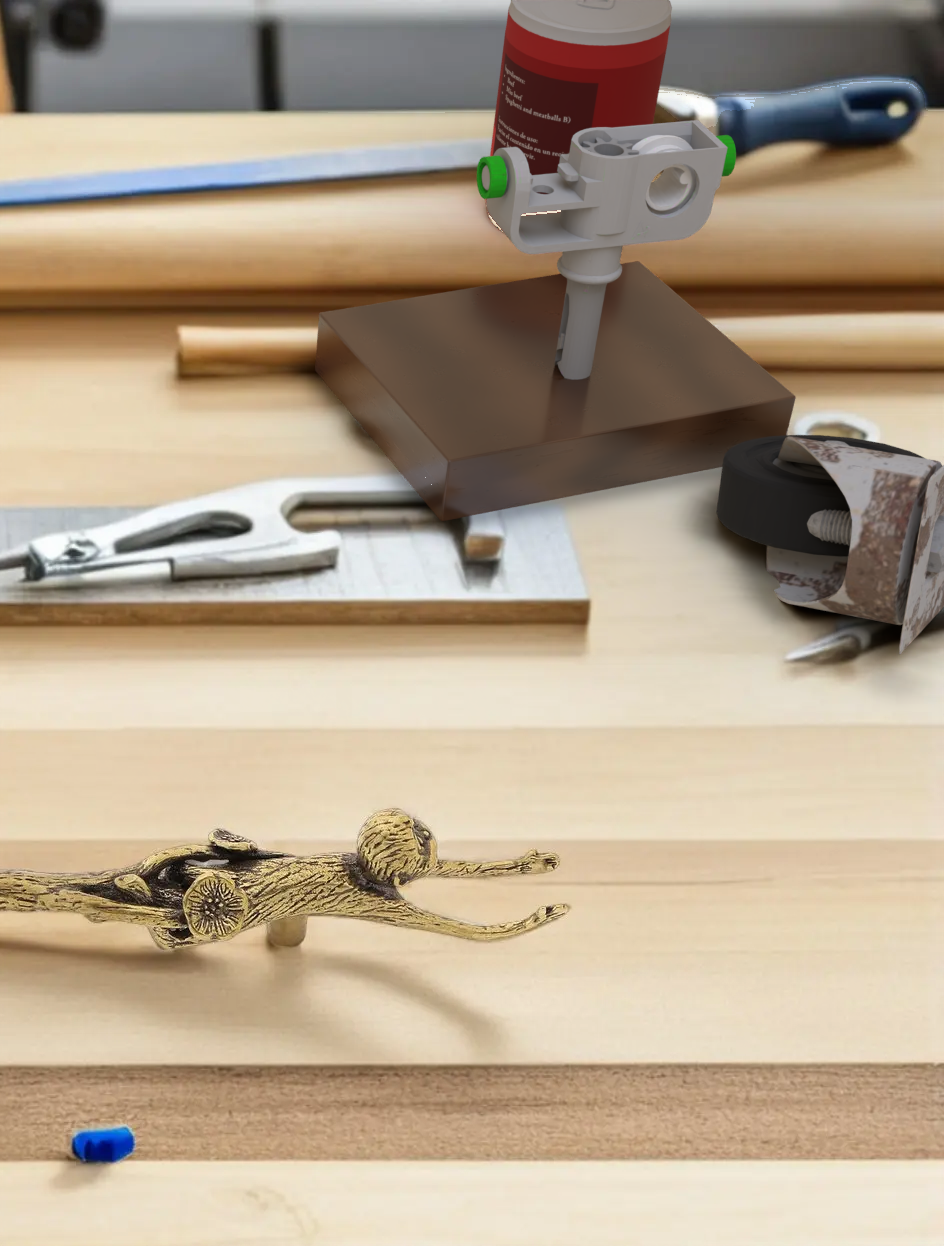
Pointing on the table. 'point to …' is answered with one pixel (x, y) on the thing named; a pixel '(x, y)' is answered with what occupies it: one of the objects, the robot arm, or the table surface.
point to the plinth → (543, 391)
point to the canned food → (577, 72)
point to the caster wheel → (842, 524)
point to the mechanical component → (605, 209)
